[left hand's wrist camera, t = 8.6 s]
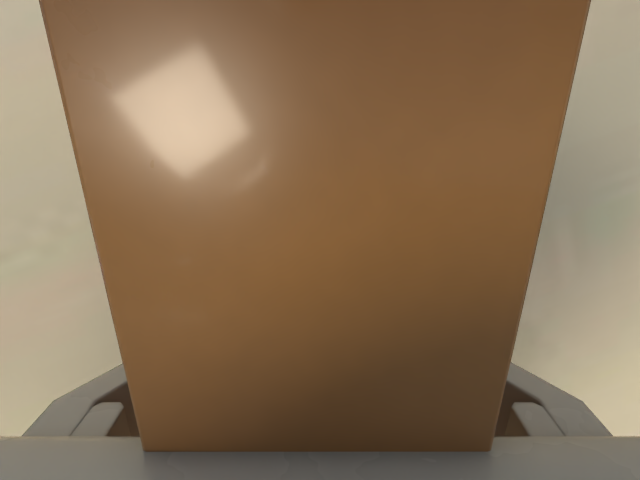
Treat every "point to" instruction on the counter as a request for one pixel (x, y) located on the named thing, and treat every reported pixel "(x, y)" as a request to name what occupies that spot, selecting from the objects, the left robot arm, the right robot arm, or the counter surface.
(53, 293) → the counter surface
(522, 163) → the bar
